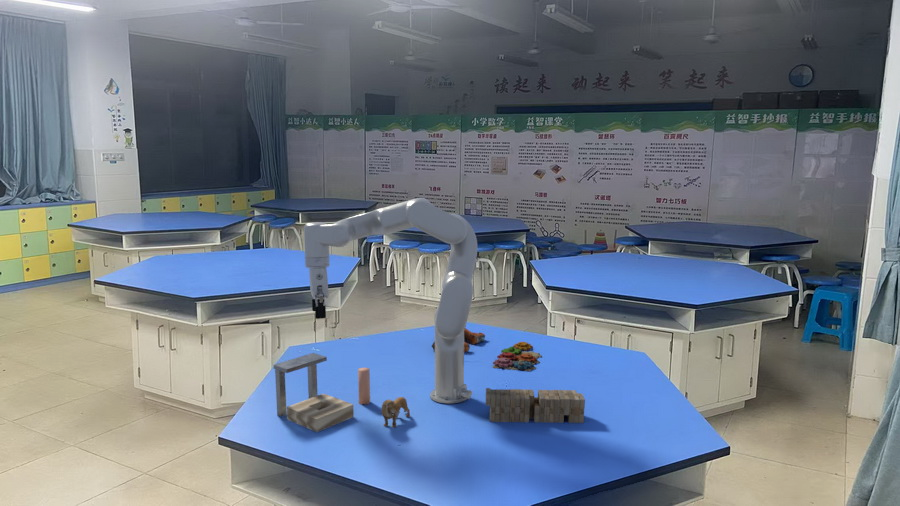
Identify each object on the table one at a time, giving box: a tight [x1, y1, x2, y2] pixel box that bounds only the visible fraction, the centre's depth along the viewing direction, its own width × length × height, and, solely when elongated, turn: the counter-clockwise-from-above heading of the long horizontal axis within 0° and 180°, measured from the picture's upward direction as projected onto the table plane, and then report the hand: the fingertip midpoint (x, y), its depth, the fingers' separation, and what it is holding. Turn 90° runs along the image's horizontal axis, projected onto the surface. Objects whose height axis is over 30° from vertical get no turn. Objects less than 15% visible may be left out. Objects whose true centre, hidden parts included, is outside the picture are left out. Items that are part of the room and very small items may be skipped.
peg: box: [357, 367, 371, 405], centre depth 206 cm, size 4×4×11 cm
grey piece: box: [273, 352, 328, 418], centre depth 199 cm, size 6×15×16 cm, turn 140°
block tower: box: [485, 387, 586, 424], centre depth 195 cm, size 8×8×29 cm
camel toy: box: [431, 327, 486, 353], centre depth 266 cm, size 25×13×17 cm
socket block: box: [286, 393, 355, 433], centre depth 195 cm, size 14×14×4 cm
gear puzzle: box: [492, 341, 543, 372], centre depth 252 cm, size 31×16×4 cm, turn 163°
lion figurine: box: [380, 396, 411, 428], centre depth 192 cm, size 15×5×9 cm, turn 163°
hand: (319, 314), depth 206 cm, fingers open, 9 cm apart
